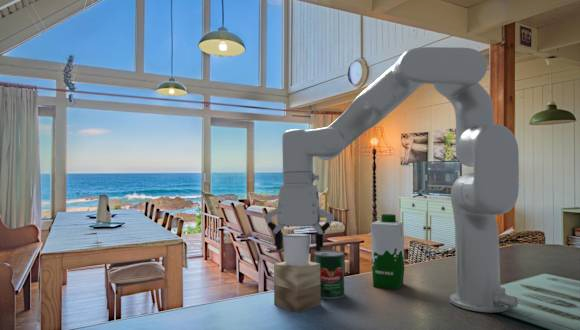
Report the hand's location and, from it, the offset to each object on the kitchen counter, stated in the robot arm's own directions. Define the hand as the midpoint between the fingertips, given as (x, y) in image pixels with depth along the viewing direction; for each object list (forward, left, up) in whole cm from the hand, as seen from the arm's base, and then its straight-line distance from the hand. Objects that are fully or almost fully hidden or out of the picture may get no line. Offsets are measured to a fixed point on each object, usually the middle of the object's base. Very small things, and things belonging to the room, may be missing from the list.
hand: (299, 249), depth 91 cm
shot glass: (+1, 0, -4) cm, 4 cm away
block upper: (0, 0, -9) cm, 8 cm away
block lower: (0, 0, -13) cm, 13 cm away
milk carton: (0, -31, -14) cm, 34 cm away
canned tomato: (+2, -11, -14) cm, 18 cm away
